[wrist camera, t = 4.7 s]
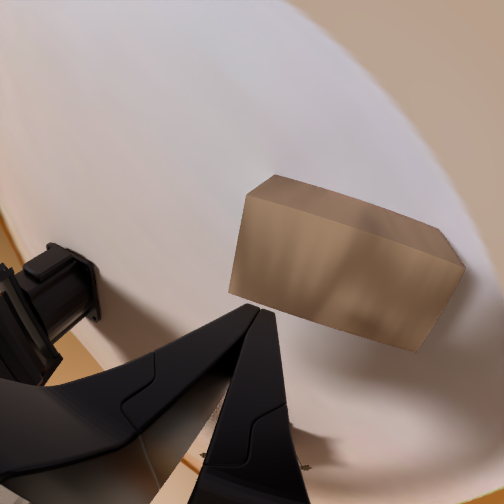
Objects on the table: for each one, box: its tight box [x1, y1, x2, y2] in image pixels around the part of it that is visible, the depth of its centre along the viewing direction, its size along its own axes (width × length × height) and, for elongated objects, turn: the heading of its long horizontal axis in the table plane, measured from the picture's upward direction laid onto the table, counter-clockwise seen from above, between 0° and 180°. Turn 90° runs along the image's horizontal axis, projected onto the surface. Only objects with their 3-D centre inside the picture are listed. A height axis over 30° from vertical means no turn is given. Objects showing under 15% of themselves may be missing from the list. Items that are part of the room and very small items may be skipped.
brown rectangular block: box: [228, 175, 466, 352], centre depth 13 cm, size 4×4×9 cm
